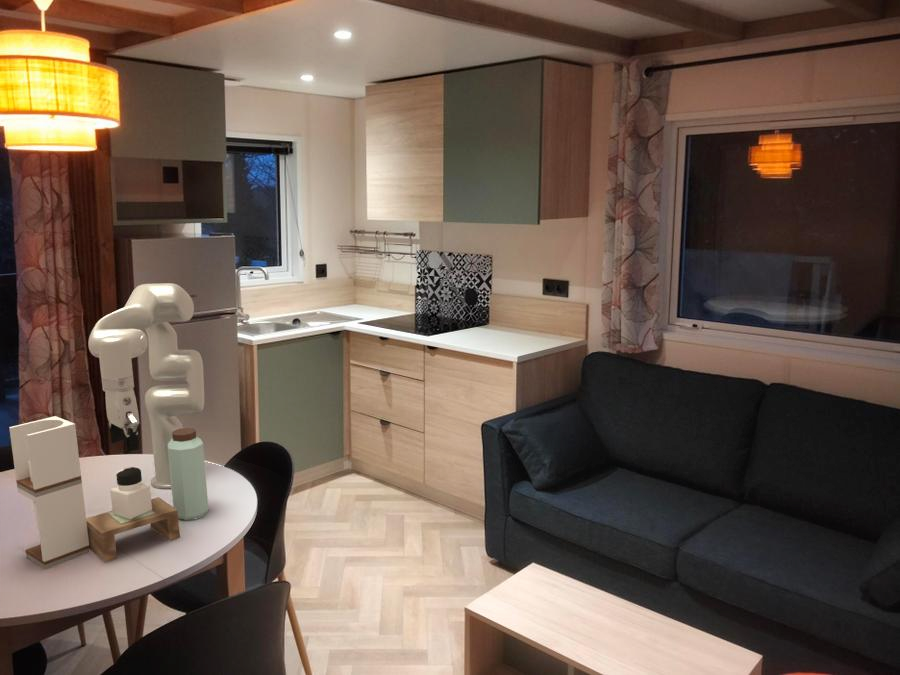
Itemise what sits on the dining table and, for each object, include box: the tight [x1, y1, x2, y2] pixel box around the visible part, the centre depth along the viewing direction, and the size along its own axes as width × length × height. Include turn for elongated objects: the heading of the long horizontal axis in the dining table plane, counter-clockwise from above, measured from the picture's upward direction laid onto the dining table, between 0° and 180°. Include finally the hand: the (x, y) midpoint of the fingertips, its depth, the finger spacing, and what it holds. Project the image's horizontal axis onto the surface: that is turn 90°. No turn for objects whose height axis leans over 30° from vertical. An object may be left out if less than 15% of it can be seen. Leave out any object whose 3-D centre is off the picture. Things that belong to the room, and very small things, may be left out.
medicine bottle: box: [109, 466, 152, 520], centre depth 210 cm, size 7×7×12 cm
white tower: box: [8, 415, 91, 570], centre depth 203 cm, size 11×11×35 cm
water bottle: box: [167, 427, 209, 521], centre depth 227 cm, size 10×10×25 cm
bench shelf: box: [86, 496, 181, 563], centre depth 212 cm, size 20×12×8 cm, turn 133°
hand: (124, 445), depth 209 cm, fingers open, 9 cm apart
